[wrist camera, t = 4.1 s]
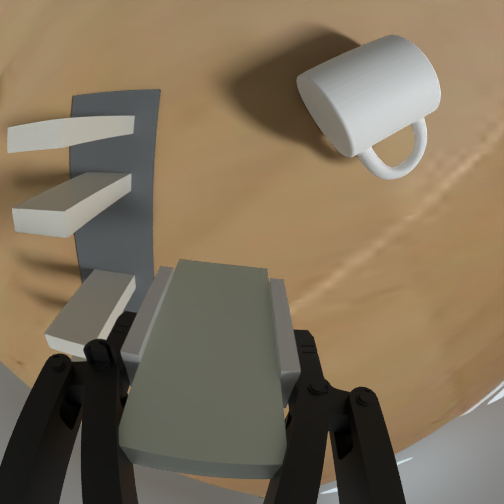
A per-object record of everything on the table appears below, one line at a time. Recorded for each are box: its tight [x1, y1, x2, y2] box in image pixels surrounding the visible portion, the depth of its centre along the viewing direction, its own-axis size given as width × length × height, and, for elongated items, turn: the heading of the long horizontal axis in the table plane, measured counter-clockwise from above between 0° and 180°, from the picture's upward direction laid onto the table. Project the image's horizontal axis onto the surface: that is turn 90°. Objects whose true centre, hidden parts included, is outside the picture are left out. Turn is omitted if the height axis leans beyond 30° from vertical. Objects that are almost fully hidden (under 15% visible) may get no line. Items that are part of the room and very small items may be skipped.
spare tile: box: [119, 259, 287, 479], centre depth 12 cm, size 2×5×12 cm, turn 83°
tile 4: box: [44, 269, 136, 359], centre depth 25 cm, size 2×5×12 cm, turn 82°
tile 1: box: [7, 116, 135, 153], centre depth 18 cm, size 2×5×12 cm, turn 83°
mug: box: [296, 35, 441, 179], centre depth 20 cm, size 12×10×8 cm
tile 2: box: [12, 172, 131, 238], centre depth 20 cm, size 2×5×12 cm, turn 82°
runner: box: [70, 89, 161, 313], centre depth 28 cm, size 29×10×1 cm, turn 173°
